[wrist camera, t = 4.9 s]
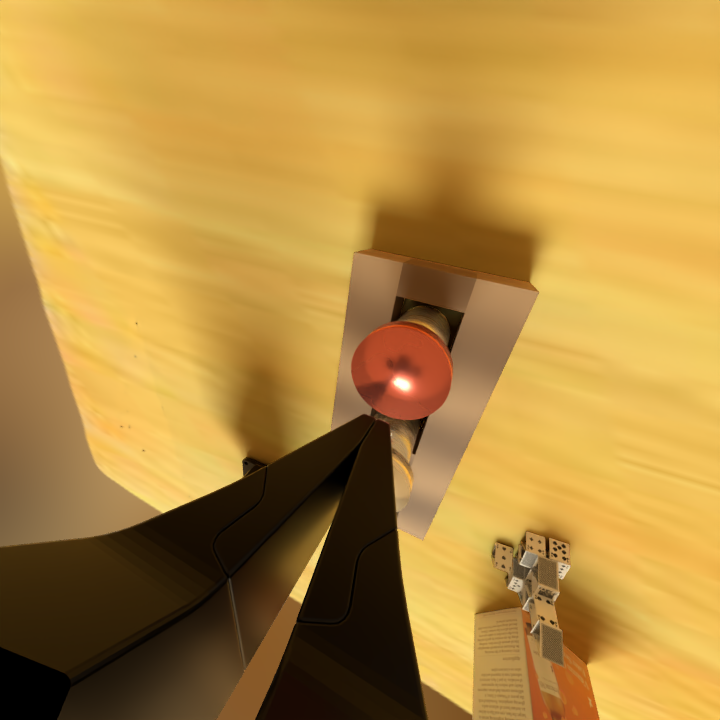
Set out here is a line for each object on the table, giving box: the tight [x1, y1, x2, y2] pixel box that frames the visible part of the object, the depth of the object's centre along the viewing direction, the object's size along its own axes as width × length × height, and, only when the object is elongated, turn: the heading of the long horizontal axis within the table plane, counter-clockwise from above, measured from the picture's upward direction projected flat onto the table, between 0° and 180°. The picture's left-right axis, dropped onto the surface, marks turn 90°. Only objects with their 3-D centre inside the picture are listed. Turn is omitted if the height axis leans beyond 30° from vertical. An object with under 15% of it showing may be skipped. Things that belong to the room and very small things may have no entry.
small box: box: [472, 607, 599, 720], centre depth 23 cm, size 8×6×10 cm
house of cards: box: [491, 531, 571, 667], centre depth 21 cm, size 9×9×8 cm
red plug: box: [351, 306, 453, 420], centre depth 13 cm, size 4×4×6 cm
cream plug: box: [374, 411, 420, 512], centre depth 16 cm, size 4×4×6 cm
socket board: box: [331, 249, 539, 540], centre depth 20 cm, size 20×9×4 cm, turn 171°
